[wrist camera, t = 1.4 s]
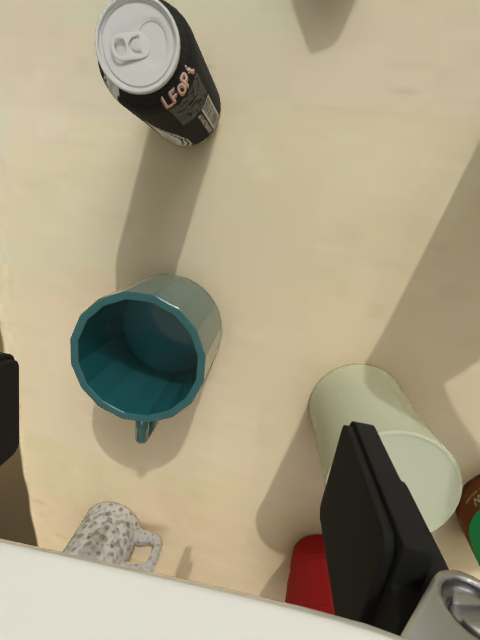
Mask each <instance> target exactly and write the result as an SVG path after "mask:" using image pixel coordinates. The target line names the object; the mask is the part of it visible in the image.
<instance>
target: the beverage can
mask: <svg viewBox="0 0 480 640" xmlns="http://www.w3.org/2000/svg"><path fill="white" fill-rule="evenodd" d="M95 49H96V54H97V58H98V65H99V68H100V72H101V76H102V78H103V80H104V82H105V84H106V86H107V88H108V89H109V91H110V92H111V94H112V95H113V97H114V98H115V99H116V100H117V101H118V102H119V103H120V104H121V105H123V106H124V107H125V108H127V109H128V110H129V111H131V112H132V113H133V114H134V115H136V116H137V117H138V118H140V119H141V120H142V121H144V122H145V123H146V124H147V125H149V126H150V127H151V128H153V129H154V130H155V131H157V132H158V133H159V134H160V135H162V136H163V137H164V138H166V139H167V140H169V141H170V142H172V143H174V144H176V145H180V146H194V145H197V144H200V143H201V142H203V141H205V140H206V139H207V138H209V137H210V135H211V134H212V133H213V132H214V130H215V128H216V126H217V124H218V121H219V118H220V112H221V104H220V98H219V94H218V91H217V89H216V86H215V84H214V82H213V79H212V77H211V75H210V72H209V70H208V68H207V65H206V63H205V61H204V58H203V56H202V54H201V51H200V49H199V47H198V44H197V42H196V40H195V37H194V35H193V33H192V30H191V28H190V26H189V25H188V23H187V22H186V20H185V18H184V17H183V16H182V15H181V14H180V13H179V12H178V10H177V9H176V8H174V7H173V6H171V5H170V4H169V3H167V2H166V1H163V0H112V1H111V2H110V3H109V4H108V5H107V6H106V8H105V9H104V11H103V12H102V14H101V16H100V18H99V20H98V23H97V27H96V31H95Z"/></svg>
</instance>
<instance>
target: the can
mask: <svg viewBox="0 0 480 640" xmlns="http://www.w3.org/2000/svg"><path fill="white" fill-rule="evenodd" d="M309 413H310V418H311V421H312V424H313V426H314V430H315V434H316V439H317V444H318V449H319V455H320V460H321V465H322V471H323V476H324V482H325V488H326V484H327V480H328V477H329V473H330V470H331V466H332V462H333V459H334V455H335V452H336V448H337V444H338V441H339V437H340V434H341V430H342V427H343V426H344V425H348V426H349V425H350V423H351V422H352V421H355V422H360V423H365V424H370V425H374V427H375V428H376V430H377V432H378V434H379V436H380V438H381V441H382V443H383V445H384V447H385V449H386V451H387V453H388V455H389V457H390V459H391V461H392V463H393V465H394V467H395V469H396V471H397V473H398V475H399V477H400V480H401V481H403V482H405V484H406V485H407V487H408V489H409V491H410V493H411V495H412V497H413V499H414V501H415V503H416V505H417V507H418V509H419V511H420V513H421V515H422V517H423V519H424V521H425V523H426V525H427V527H428V529H429V531H430V533H431V532H433V531H435V530H436V529H438V528H439V527H441V526H442V525H443V524H444V523H445V522H446V521H447V520H448V519H449V518H450V517H451V516H452V514H453V513H454V511H455V510H456V508H457V506H458V503H459V501H460V498H461V494H462V476H461V472H460V469H459V466H458V464H457V462H456V460H455V459H454V457H453V456H452V454H451V453H450V452H449V451H448V450H447V449H446V448H445V447H444V446H443V445H442V444H441V442H440V441H439V440H438V439H437V437H436V436H435V435H434V433H433V432H432V431H431V430H430V428H429V427H428V426H427V425H426V423H425V422H424V421H423V419H422V418H421V417H420V415H419V414H418V413H417V411H416V410H415V409H414V407H413V406H412V405H411V403H410V402H409V401H408V399H407V398H406V397H405V395H404V394H403V391H402V389H401V387H400V386H399V384H398V383H397V381H396V380H395V379H394V378H393V377H392V376H390V375H389V374H388V373H386V372H385V371H383V370H381V369H379V368H376V367H373V366H368V365H348V366H344V367H341V368H338V369H336V370H334V371H332V372H330V373H329V374H327V375H326V376H325V377H324V378H323V379H321V381H320V382H319V383H318V384H317V386H316V387H315V389H314V390H313V393H312V395H311V398H310V403H309Z"/></svg>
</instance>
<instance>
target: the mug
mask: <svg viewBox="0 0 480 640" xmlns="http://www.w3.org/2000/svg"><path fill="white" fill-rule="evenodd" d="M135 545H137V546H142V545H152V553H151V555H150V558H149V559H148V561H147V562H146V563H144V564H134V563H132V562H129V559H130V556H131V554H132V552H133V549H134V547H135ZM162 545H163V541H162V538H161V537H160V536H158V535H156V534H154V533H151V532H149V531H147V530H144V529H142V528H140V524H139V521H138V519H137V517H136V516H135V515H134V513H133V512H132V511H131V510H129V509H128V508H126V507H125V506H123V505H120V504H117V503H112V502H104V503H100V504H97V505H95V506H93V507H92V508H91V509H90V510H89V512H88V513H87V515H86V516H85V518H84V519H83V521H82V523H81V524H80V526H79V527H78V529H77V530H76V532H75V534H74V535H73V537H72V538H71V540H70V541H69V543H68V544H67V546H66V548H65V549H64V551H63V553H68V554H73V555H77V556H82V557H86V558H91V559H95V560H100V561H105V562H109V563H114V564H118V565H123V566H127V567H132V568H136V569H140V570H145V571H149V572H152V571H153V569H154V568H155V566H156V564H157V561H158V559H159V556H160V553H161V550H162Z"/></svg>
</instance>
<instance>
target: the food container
mask: <svg viewBox="0 0 480 640" xmlns="http://www.w3.org/2000/svg"><path fill="white" fill-rule="evenodd" d="M456 516H457V519H458V521H459V524H460V526H461V528H462V530H463V532H464V534H465V536H466V538H467V540H468V542H469V545H470V547H471V549H472V551H473V553H474V555H475V557H476V559H477V561H478V563H479V566H480V475H478V476H476V477H474V478H473V479H471V480H470V481H469V482H468V483H467V484H466V485H465V486H464V487H463V488H462V494H461V498H460V501H459V503H458V506H457V508H456Z"/></svg>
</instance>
